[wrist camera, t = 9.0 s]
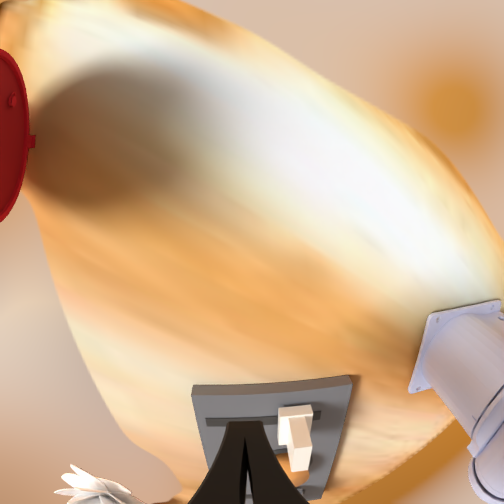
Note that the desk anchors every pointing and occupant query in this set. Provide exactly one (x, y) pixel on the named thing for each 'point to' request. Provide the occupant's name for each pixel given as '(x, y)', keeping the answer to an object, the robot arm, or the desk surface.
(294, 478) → the push button
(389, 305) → the desk surface
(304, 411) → the toggle lever
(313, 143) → the desk surface
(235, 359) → the desk surface
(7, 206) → the alarm clock
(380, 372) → the desk surface
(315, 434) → the panel
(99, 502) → the lotus flower
